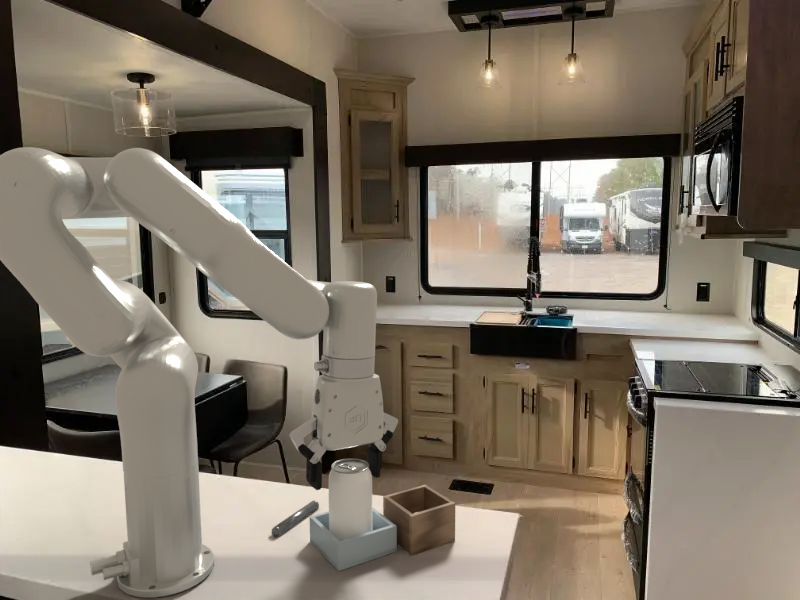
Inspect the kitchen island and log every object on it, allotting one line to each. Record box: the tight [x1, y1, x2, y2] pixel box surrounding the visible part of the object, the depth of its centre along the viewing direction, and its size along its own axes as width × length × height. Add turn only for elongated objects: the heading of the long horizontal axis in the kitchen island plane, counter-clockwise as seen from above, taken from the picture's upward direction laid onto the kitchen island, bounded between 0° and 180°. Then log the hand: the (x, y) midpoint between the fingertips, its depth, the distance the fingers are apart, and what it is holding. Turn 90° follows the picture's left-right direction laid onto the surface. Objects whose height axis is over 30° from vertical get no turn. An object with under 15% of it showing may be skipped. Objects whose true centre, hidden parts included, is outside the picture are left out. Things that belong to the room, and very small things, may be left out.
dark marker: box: [271, 500, 320, 538], centre depth 99 cm, size 12×2×2 cm, turn 153°
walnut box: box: [382, 484, 456, 556], centre depth 94 cm, size 8×8×6 cm
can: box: [328, 458, 373, 541], centre depth 90 cm, size 6×6×12 cm
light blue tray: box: [309, 506, 398, 572], centre depth 91 cm, size 10×10×4 cm
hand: (344, 480), depth 90 cm, fingers open, 9 cm apart
